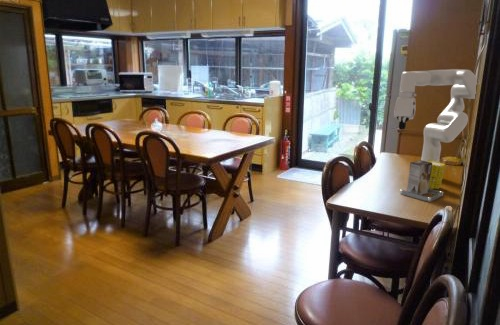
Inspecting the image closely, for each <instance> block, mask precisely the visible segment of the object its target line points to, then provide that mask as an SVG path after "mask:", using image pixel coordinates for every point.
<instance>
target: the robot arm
mask: <svg viewBox="0 0 500 325" xmlns="http://www.w3.org/2000/svg"><path fill="white" fill-rule="evenodd" d="M400 76H401V77H400V84H399V92H398V97H397V98H396V101H395V104H394V110H393V118H395V119H397V120H398V129H399V130H401V131H402V130H405V129H406V125H407V123H408V121H410V120H414V117H415V115H416V106H417V105H416V103H417V102H416V98H415V97H417V96H418V95H417V93H415V90H416V86H417V87H426V86H437V87H439V86H451V89H450V101H449V103H448V104H447V106H446V107H445V108H444V109H442V112H441V113H439V115H438V117H437V118H436V121H437V122H431V123H428V124H426V125H425V126H424V127H423V144H422V152H421V158H420V159H421V160H422V161H426V162H427V161H435V162H436V161H437V162H439V163H440V158H441V157H440V156H441V152H442V145H441V143H451V142H453V141H454V140H455V139H456V138H457V137H458V136H459V135H460V134H461V132H462V131H463V130H464V129H465V128H466V126H467V124H468V121H469V117H468V114H467V113H466V112H464V110H465V106H466V105H465V102H464V99H470V100H471V99H473V100H474V99H475V94H476V83H477V79H478V77H476V75H475V73H473V71H472V70H470V69H457V68H456V69H455V68H450V69H432V70H431V69H430V70H415V71H414V70H412V71H402V73H401V75H400ZM421 160H420V161H421Z"/></svg>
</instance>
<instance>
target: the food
mask: <svg viewBox="0 0 500 325" xmlns="http://www.w3.org/2000/svg"><path fill="white" fill-rule="evenodd" d="M427 162H430V163H432V168H431V175H430V181H429V189H433V190H439V189H441V184H442V183H443V177H444V174H445V170H446V164H445V163H444V162H440V161H439V162H437V161H436V162H435V161H427Z"/></svg>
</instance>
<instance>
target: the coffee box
mask: <svg viewBox="0 0 500 325" xmlns="http://www.w3.org/2000/svg"><path fill="white" fill-rule="evenodd" d="M431 168H432V163H430V162H426V161H422V160H414V161H411V162H410V164H409V170H408V177H407V186H406V191H408V192H412V193H416V194H419V195H425V194H429V193H428V188H429V181H430V175H431Z"/></svg>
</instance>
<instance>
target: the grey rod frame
mask: <svg viewBox="0 0 500 325" xmlns="http://www.w3.org/2000/svg"><path fill="white" fill-rule="evenodd" d="M427 194H432V195H431V196H427V195H424V194H422V195H419V194H416V193H412V192H408V191H407V190H404V189H400V190H399V195H403V196H405V197H410V198H413V199H416V200H420V201H423V202H428V203H432V202H433V201H435V200H438V199H439V198H441V197H443V195H444V191H441V190H438V189H431V188H430V189H429V188H428V193H427Z"/></svg>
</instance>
